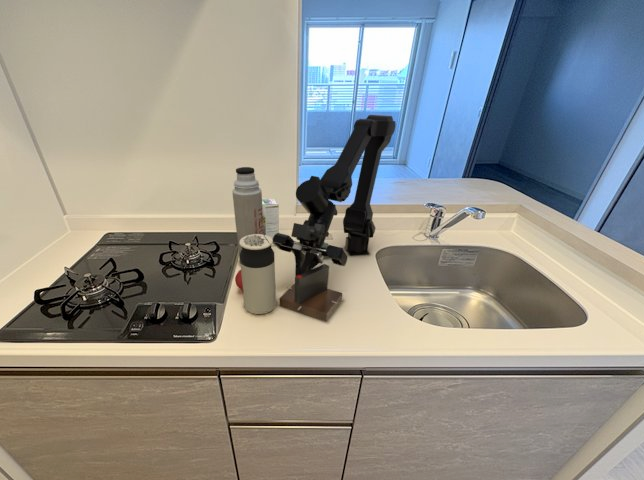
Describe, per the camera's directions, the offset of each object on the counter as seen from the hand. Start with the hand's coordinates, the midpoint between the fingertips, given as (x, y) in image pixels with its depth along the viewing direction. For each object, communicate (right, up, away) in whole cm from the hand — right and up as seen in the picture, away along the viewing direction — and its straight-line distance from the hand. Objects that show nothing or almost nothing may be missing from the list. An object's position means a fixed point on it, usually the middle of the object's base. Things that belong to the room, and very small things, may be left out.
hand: (297, 281), depth 79 cm
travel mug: (-9, -6, +4) cm, 12 cm away
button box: (+7, +11, +27) cm, 30 cm away
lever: (+4, -3, +3) cm, 6 cm away
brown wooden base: (+4, -5, +4) cm, 8 cm away
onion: (-13, -2, +9) cm, 16 cm away
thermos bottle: (-13, +7, +23) cm, 27 cm away
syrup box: (-9, +15, +34) cm, 39 cm away
